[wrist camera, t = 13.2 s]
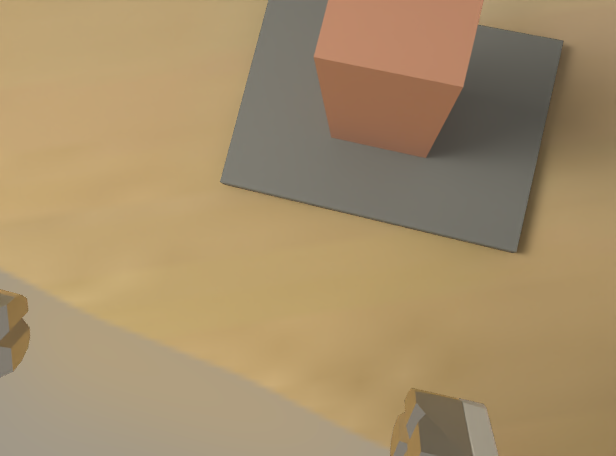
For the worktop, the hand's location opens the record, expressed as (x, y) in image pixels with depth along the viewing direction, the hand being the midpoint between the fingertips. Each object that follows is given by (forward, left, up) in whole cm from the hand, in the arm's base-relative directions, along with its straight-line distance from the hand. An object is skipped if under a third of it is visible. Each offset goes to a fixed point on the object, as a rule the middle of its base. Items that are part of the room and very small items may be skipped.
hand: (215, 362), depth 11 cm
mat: (+2, +10, -14) cm, 17 cm away
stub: (+2, +10, -13) cm, 17 cm away
